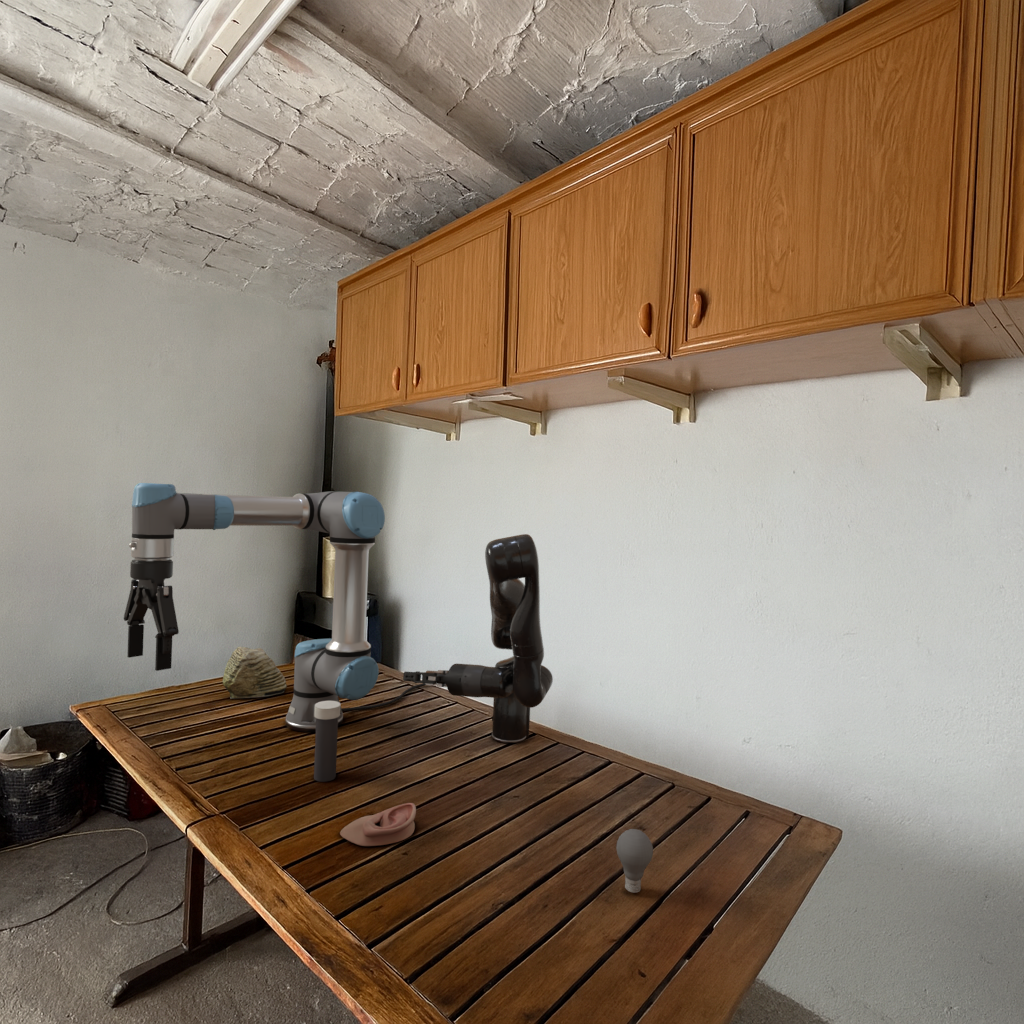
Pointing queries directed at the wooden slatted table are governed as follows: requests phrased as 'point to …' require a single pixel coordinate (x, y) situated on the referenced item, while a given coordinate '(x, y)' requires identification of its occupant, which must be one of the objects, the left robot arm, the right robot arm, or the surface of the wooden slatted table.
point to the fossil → (252, 674)
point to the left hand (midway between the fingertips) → (148, 662)
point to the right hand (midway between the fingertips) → (413, 676)
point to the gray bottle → (325, 749)
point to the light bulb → (634, 857)
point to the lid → (327, 710)
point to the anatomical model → (382, 826)
